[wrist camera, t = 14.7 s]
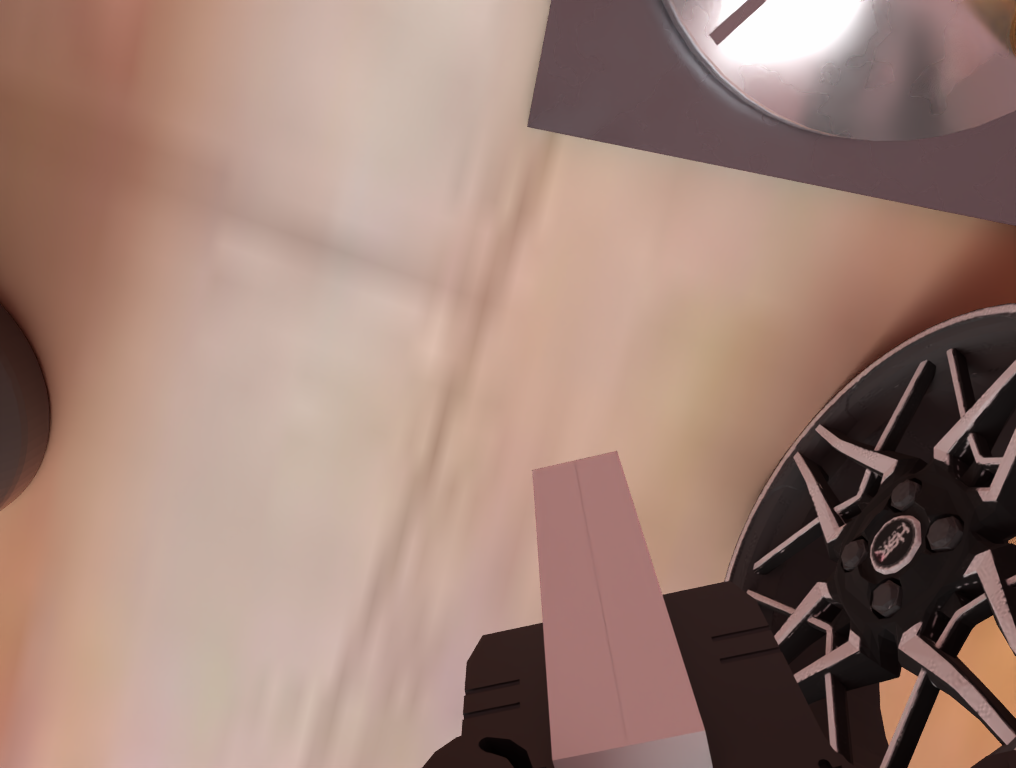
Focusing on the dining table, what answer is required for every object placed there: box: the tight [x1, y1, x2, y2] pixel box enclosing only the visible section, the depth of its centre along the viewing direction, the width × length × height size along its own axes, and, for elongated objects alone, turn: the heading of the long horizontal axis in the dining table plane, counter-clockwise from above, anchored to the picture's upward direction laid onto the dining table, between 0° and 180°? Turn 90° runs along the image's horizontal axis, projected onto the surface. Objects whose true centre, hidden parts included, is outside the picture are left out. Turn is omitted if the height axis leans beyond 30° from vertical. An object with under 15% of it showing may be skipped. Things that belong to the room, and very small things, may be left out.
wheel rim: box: [724, 303, 1016, 768], centre depth 30 cm, size 20×9×20 cm, turn 149°
